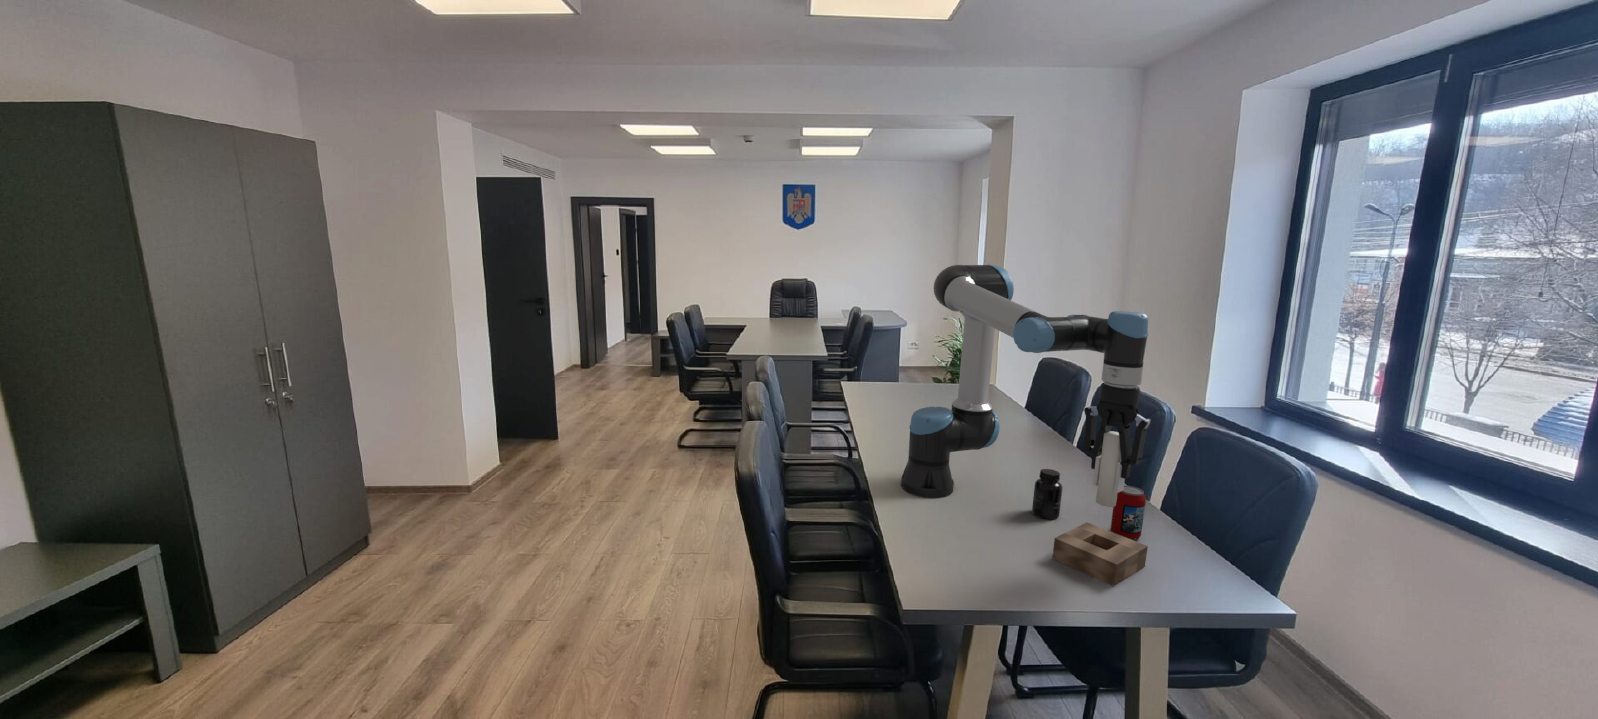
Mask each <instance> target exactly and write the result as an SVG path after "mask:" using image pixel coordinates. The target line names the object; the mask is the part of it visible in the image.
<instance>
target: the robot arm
mask: <svg viewBox="0 0 1598 719" xmlns="http://www.w3.org/2000/svg"><path fill="white" fill-rule="evenodd" d="M1014 289H1015V288H1014V281H1013V278H1012V276H1011V275H1010V274H1009V272H1008V270H1006V269H1005V268H1004V267H1002V266H999V265H991V264H966V265H965V264H954V265H951V266H950V265H949V266H948V267H946V268H944V269H942V270H941V271H940V272H939V273H938V275H937V276H936V278H935V280H934V283H933V293H934V294H933V295H934V296H935V297H934V298H936V300H937V302H938V303H939V304H941V305H942V306H943V307H945V308H947V309H948V310H950V311H952V312H955V313H956V312H959V313H960V314H961V315H962V316H963V317H964V318H963V319H964V320H963V323H964V324H963V334H962V346H961V354H960V355H961V356H960V366H959V367H960V370H959V381H958V394H957V398H956V399H954V400H953V401H952V402H951V409H949V408H947V407H943V406H927V407H922V408H919V409H917V410H915V411H914V412H913V414H912V415H911V418H910V424H909V440H908V442H909V443H908V457H907V458H908V459H907V463H906V465H905V468H904V470H903V473H902V475H901V478H900V487H901V489H902V490H904V491H905V492H906V493H909V494H911V495H914V496H918V497H923V498H931V499H933V498H935V499H937V498H938V499H939V498H943V497H944V498H945V497H948V496H950V495H951V494H953V493H954V489H955V488H954V487H955V484H954V482H955V481H954V479H953V476H952V471H951V467H950V455H951V453H955V452H962V451H974V450H975V451H977V450H981V449H985V448H989V447H991V446H992V445H993V444H994V443H995V442H996V441H997V439H998V438H999V435H1000V427H1001V426H1000V420H998V418H999V417H998V414H997V413H996V412H995V411H994V408H993V405H992V404H991V403H990V402H989V393H990V385H991V384H990V383H991V374H992V365H993V364H992V363H993V353H994V352H993V351H994V344H995V334H996V333H995V331H996V330H997V331H998V332H1001V333H1002V334H1005V335H1007V336H1009V337H1011V338H1013V341H1014V344H1016V346H1017V348H1018V349H1019V350H1020V351H1021V352H1024V353H1034V354H1041V353H1049V352H1061V351H1063V352H1064V351H1065V352H1066V351H1091V352H1097V353H1101V354H1103V364H1102V373H1101V381H1102V383H1101V384H1100V386H1099V387H1100V388H1099V397H1098V398H1099V400H1098V403H1097V404H1096V406H1093V405H1091V406H1087V407H1085V408H1084V415H1085V427H1084V428H1085V431H1084V444H1083V447H1084V448H1083V449H1084V450H1085V451H1086V452H1089V453H1090V454H1091V455H1092V456H1091V464H1090V467H1091V469H1092V470H1094V472H1093V480H1092V481H1093V482H1092V486H1096V487H1098V479H1099V471H1100V463H1101V454H1102V446H1103V437H1104V433H1106V432H1109V431H1111V429H1112V428H1113V427H1115V428H1116V429H1117V430H1116V431H1117V432H1118V433H1119V440H1120V452H1121V462H1119V463H1117V470H1116V478H1115V486H1114V492H1116V493H1118V492H1120V491H1123V489H1124V486H1125V480H1126V479H1128V478H1129V477H1130V474H1131V467H1132V465H1136V464H1139V463H1141V462H1142V460H1143V454H1144V449H1145V443H1146V437H1147V432H1148V429H1149V428H1150V426H1151V425H1152V420H1151V419H1150V418H1145V417H1144V416H1142V415H1141V414H1140V412H1139V408H1138V405H1139V400H1140V396H1141V394H1140V393H1141V388H1140V387H1139V386H1140V385H1141V384H1142V379H1143V378H1142V377H1143V369H1144V358H1145V352H1146V346H1147V340H1148V337H1149V332H1148V331H1149V317H1148V316H1147V314H1145V313H1143V312H1139V311H1137V312H1136V311H1128V310H1127V311H1124V310H1123V311H1122V310H1121V311H1120V310H1119V311H1118V310H1115V311H1111V312H1110V313H1109V314H1108V318H1101V317H1097V316H1089V315H1087V314H1069V315H1067V316H1055V317H1053V316H1051V317H1050V316H1046V315H1044V314H1042V313H1040V312H1036V311H1035V310H1033V309H1031V308H1028V307H1026V306H1024V305H1022V304H1019V303H1018V302H1015V301H1012V299H1013V297H1014V293H1015V292H1014V291H1015V290H1014ZM1098 415H1099V416H1100V418H1101V421H1100V423H1099V429H1098V433H1097V425H1098V423H1097V421H1098ZM1134 421H1135V422H1136V423H1135V426H1136V429H1135V433H1134V438H1133V443H1132V441H1131V440H1132V439H1131V437H1132V436H1131V431H1132V425H1131V424H1132V423H1133V422H1134ZM1096 435H1097V436H1096Z"/></svg>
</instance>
